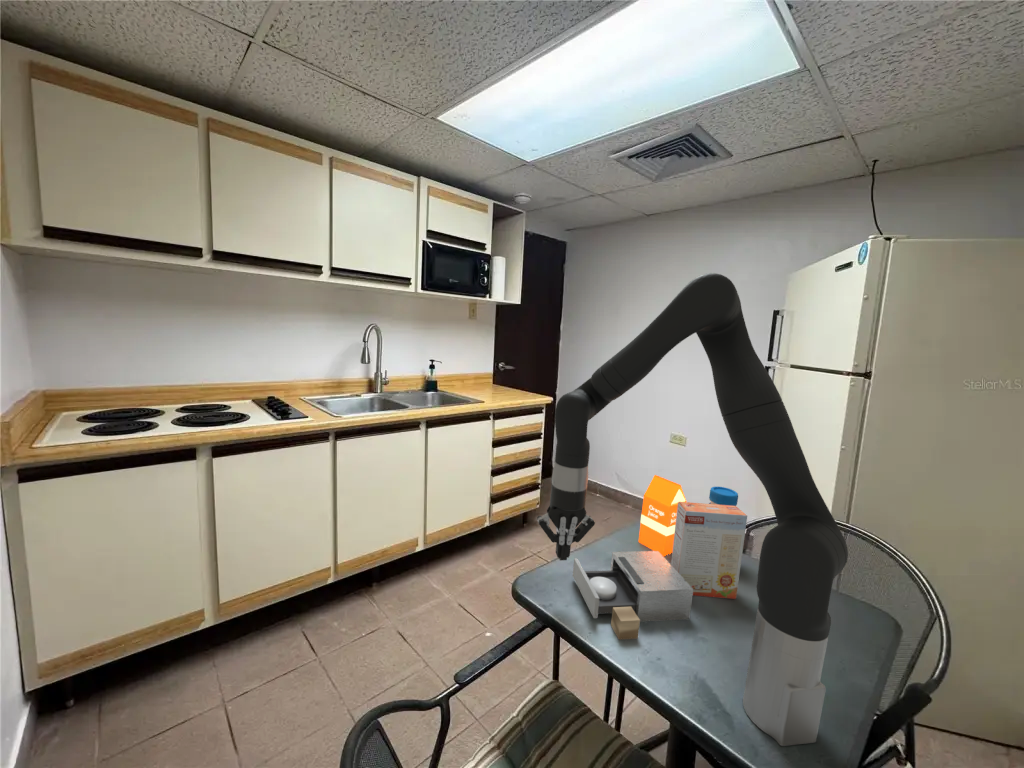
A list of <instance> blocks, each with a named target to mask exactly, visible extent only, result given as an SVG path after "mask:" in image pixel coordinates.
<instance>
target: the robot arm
mask: <svg viewBox="0 0 1024 768" xmlns="http://www.w3.org/2000/svg"><path fill="white" fill-rule="evenodd" d="M742 309H743V308H742V302H741V299H740V295H739V292H738V291H737V288H736V286H735V284H734V283H733V282H732V280H731V279H730V278H728V277H727V276H725V275H723V274H721V273H715V272H713V273H712V272H710V273H704V274H702V275H698V276H697V277H695V278H693V279H692V280H691V281H689V282H688V283H687V284H685V286H684V287H683V288H682V289H681V290H680V292H679V293H677V294H676V296H675V297H674V298H673V299H672V301H671V302H669V304H668V305H666V307H665V308H664V309H663V310H662V311H661V312H660V314H658V316H656V317H655V318H654V319H653V320H652V322H651V323H650V324H648V325H647V327H645V329H644V330H642V331H641V332H640V333H639V334H638V335H637V336H636V337H634V339H632V340H631V341H630V342H629V343H628V344H627V345H626V346H624V347H623V348H621V350H619V351H618V352H617V353H615V354H614V355H613V356H612V357H611V358H609V359H608V360H607V361H606V362H605V363H603V364H602V365H601V366H599V367H598V368H597V369H596V370H595V371H594V372H593V373H592V375H591V376H590V378H588V379H587V380H586V381H585V382H583V383H582V384H581V385H579V386H578V387H577V388H575V389H573V390H572V391H570V392H567V393H565V394H563V395H562V396H561V397H560V398H559V399H558V401H557V403H556V406H555V411H554V426H555V427H554V428H555V437H556V446H555V447H556V448H555V457H554V459H555V460H554V465H553V468H552V475H551V487H550V488H551V489H550V498H549V499H550V500H549V506H548V508H547V509H546V513H545V514H543V515H538V516H537V517H536V520H537V522H538V525H539V527H541V528H540V529H542V530H543V532H544V533H545V535H546V536H547V537H548V539H549V540H550V541H551V543H555V554H556V557H557V558H558V560H559V561H567V560H568V558H570V555H571V548H572V547H571V546H572V544H573V543H580V542H581V540H582V539H583V538H584V537H585V536H586V535H587V534H588V533H589V531H591V529H592V528H593V527H594V526H595V524H596V521H594V519H593V518H592V516H591V515H588V514H587V510H586V503H587V502H586V501H587V493H588V492H587V491H588V483H589V460H590V451H591V450H590V448H591V447H590V441H589V438H588V424H589V421H590V420H591V419H593V418H594V417H595V416H597V415H598V414H599V413H600V412H601V411H602V410H604V409H605V408H606V407H607V406H608V405H610V403H612V402H613V401H615V400H617V399H618V398H620V397H621V396H622V395H624V394H626V393H627V392H628V391H629V390H631V389H632V388H633V387H634V386H636V385H637V384H638V383H640V382H641V381H642V380H644V378H646V376H648V374H650V373H651V372H652V371H653V370H654V369H655V367H656V366H657V365H658V364H659V363H660V361H661V360H663V358H665V356H666V355H667V354H669V352H670V351H672V349H674V348H675V347H677V345H679V344H680V343H681V342H683V341H684V340H686V339H688V337H690V336H692V335H694V334H696V335H697V337H698V339H699V341H700V342H701V345H702V348H703V350H704V351H705V354H706V356H707V358H708V361H709V365H710V367H711V371H712V380H713V384H714V390H715V395H716V400H717V405H718V407H719V410H720V414H721V417H722V419H723V422H724V425H725V427H726V431H727V433H728V436H729V438H730V440H731V442H732V445H733V447H734V448H735V450H736V451H737V453H738V454H739V455H740V456H741V458H742V459H743V461H744V462H745V463H746V464H747V466H748V467H749V469H751V470H752V472H753V473H754V474H755V475H756V477H757V478H758V479H759V481H760V482H761V484H762V485H763V487H764V489H765V491H766V494H767V495H768V498H769V500H770V503H771V506H772V509H773V512H774V516H775V519H776V522H777V525H776V526H774V527H772V528H771V529H770V530H769V531H768V532H767V533H766V535H765V536H764V539H763V541H762V544H761V548H760V554H759V555H760V556H759V562H758V569H757V578H756V594H757V597H758V603H757V604H758V605H757V611H756V618H755V623H754V628H753V635H752V642H751V647H750V653H749V654H750V655H749V659H748V661H749V662H748V667H747V670H746V671H747V673H746V678H745V684H744V692H743V698H742V705H743V708H744V711H745V713H746V715H747V716H748V718H749V719H750V720H751V722H753V723H754V724H755V725H756V726H757V728H759V729H760V730H761V731H763V732H764V733H765V734H767V735H768V736H770V737H772V738H773V739H774V740H775V741H776V742H777V743H778V744H779V746H781V747H785V746H786V747H787V746H796V745H802V744H804V745H805V744H812V743H813V744H814V743H816V742H817V737H818V732H819V728H820V727H819V726H820V722H821V717H822V711H823V708H824V707H823V706H824V700H825V695H826V691H827V688H826V685H825V684H823V683H822V682H821V677H822V672H823V666H824V663H825V662H824V661H825V656H826V653H827V647H828V640H829V635H830V632H831V631H830V630H831V625H832V618H831V614H830V613H829V605H830V601H831V594H832V593H831V592H832V589H833V583H834V579H836V577H837V576H838V575H839V574H840V573H841V572H842V571H843V570H844V569H845V566H846V564H847V562H848V557H849V551H848V545H847V542H846V539H845V537H844V535H843V533H842V530H841V529H840V528H839V527H840V526H839V525H838V523H837V521H836V520H835V519H834V516H833V514H832V513H831V511H830V509H829V507H828V506H827V503H826V502H825V500H824V498H823V497H822V495H821V493H820V491H819V488H818V487H817V485H816V483H815V480H814V478H813V475H812V473H811V471H810V468H809V465H808V461H807V459H806V457H805V454H804V452H803V449H802V447H801V445H800V442H799V439H798V437H797V435H796V432H795V431H796V430H795V429H794V427H793V422H792V420H791V417H790V415H789V414H788V411H787V408H786V406H785V403H784V402H783V398H782V397H781V394H780V393H779V391H778V388H777V386H776V385H775V384H776V383H775V382H774V381H773V379H772V377H771V375H770V374H769V372H768V370H767V368H766V366H764V364H763V362H762V360H761V359H760V358H759V356H758V354H757V352H756V351H755V349H754V345H753V344H752V342H751V341H752V340H751V338H750V335H749V332H748V328H747V325H746V321H745V317H744V314H743V310H742ZM550 521H551V522H552V524H553V525H554V527H555V530H556V533H555V532H554V531H553V530H552V529H551V527H550V526H549V525H550Z"/></svg>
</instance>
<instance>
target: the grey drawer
mask: <svg viewBox="0 0 1024 768" xmlns="http://www.w3.org/2000/svg"><path fill="white" fill-rule="evenodd" d="M572 568H573V569H572V577H573V580H574V581H575V583H576V585H577V588H578V590H579V591H580V594H581V596H582V597H583V600H584V602H585V603H586V606H587V608H588V610H589V611H590V614H591V615H592V618H593V619H598V616H599V615H600V614H601V615H603V614H612V611H613V607H632V609H633V610H634V612H636V605H637V597H638V594H637V593H636V591H635V590H634V588H633V587H632V586H631V584H630V583H629V581H628V580H627V579H626V577H625V576H624V574H623V573H622V571H621V570H611V569H609V570H584V568H583V567H582V564H581V562H580V560H579V559H578V558H575V557H574V559H573V567H572ZM593 577H605V578H608V579H610V580H611V581H613V582H614V583H615V584H616V587H617V588H616V596H615V597H614V598H613V599H611V600H602V599H599V596H598V595H597V593H596V591H595V589H594V587H593V586H592V584H591V582H590V579H592V578H593Z"/></svg>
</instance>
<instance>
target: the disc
mask: <svg viewBox="0 0 1024 768" xmlns="http://www.w3.org/2000/svg"><path fill="white" fill-rule="evenodd" d="M590 582H591V584H592V586H593V587H594V589H595V591H596V593H597V595H598V596H599V599H602V600H611V599H613V598H614V597H615V596H616V588H617V587H616V584H615V583H614V582H613V581H611V580H610V579H608V578H605V577H593V578H592V579H590Z"/></svg>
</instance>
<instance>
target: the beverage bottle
mask: <svg viewBox="0 0 1024 768" xmlns="http://www.w3.org/2000/svg"><path fill="white" fill-rule="evenodd" d="M738 499H739V493H738V492H737V491H735V489H734V490H733V489H732V488H729V487H724V486H712V487H710V490H709V497H708V500H709V502H708V504H717V505H730V506H736V507H737V505H738Z"/></svg>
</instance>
